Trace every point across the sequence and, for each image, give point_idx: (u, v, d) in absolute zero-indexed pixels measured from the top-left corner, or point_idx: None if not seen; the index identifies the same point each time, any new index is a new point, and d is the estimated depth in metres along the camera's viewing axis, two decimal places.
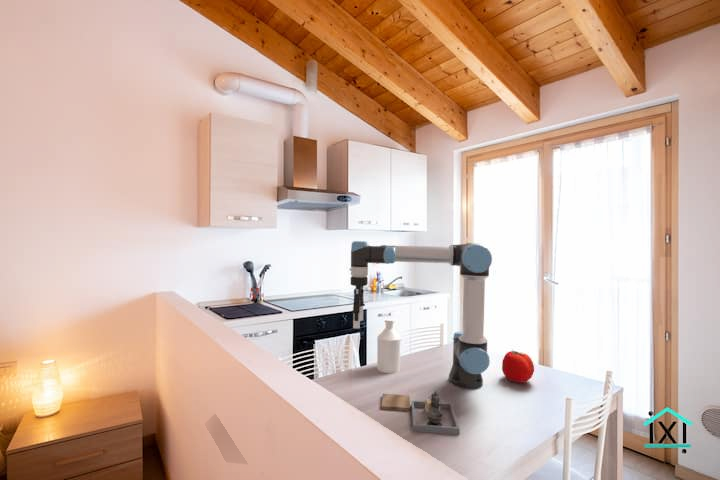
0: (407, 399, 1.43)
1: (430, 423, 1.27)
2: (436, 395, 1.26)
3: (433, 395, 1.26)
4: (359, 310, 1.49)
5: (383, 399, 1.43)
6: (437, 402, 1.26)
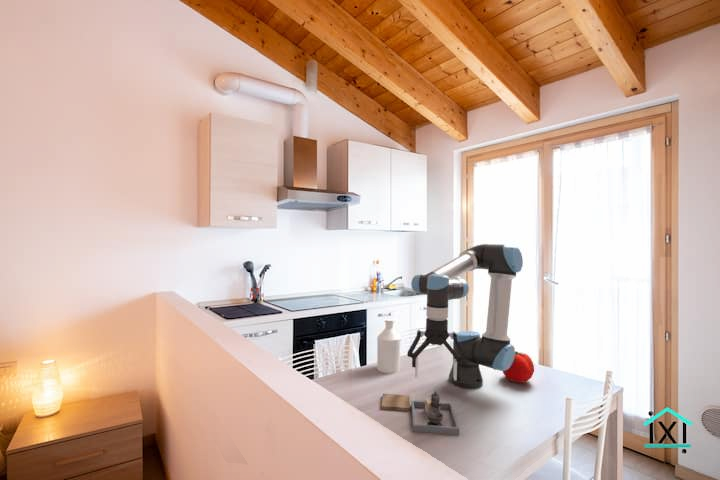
0: (407, 399, 1.43)
1: (430, 423, 1.27)
2: (436, 395, 1.26)
3: (433, 395, 1.26)
4: (415, 356, 1.26)
5: (383, 399, 1.43)
6: (437, 402, 1.26)
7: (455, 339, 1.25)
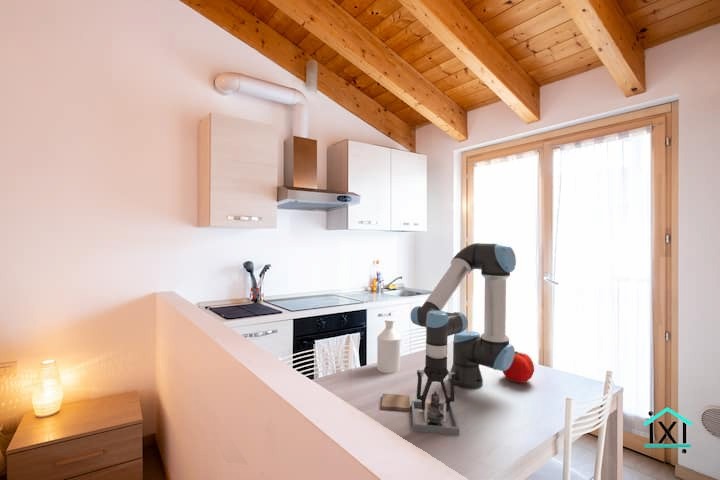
0: (407, 399, 1.43)
1: (430, 423, 1.27)
2: (436, 395, 1.26)
3: (433, 395, 1.26)
4: (424, 398, 1.26)
5: (383, 399, 1.43)
6: (437, 402, 1.26)
7: (452, 380, 1.25)
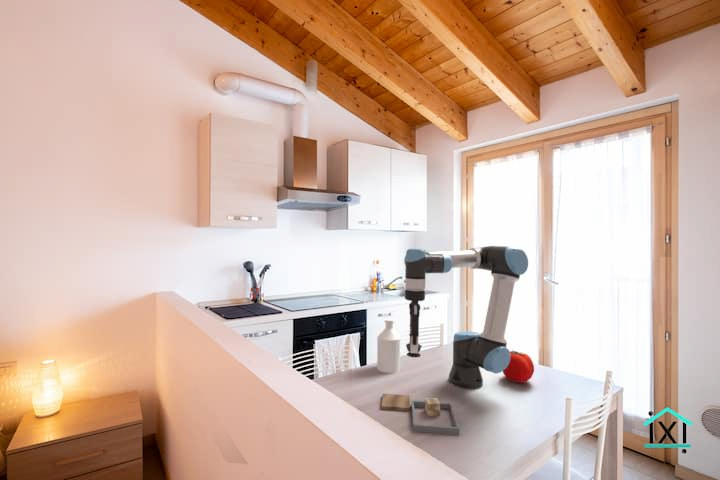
0: (407, 399, 1.43)
1: (414, 355, 1.33)
2: None
3: None
4: None
5: (383, 399, 1.43)
6: None
7: None
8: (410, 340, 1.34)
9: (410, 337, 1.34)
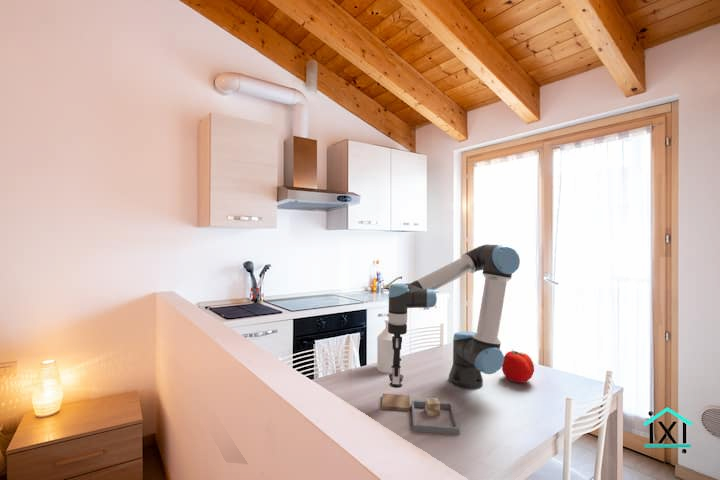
0: (407, 399, 1.43)
1: (396, 385, 1.41)
2: None
3: None
4: None
5: (383, 399, 1.43)
6: None
7: None
8: (392, 371, 1.42)
9: None
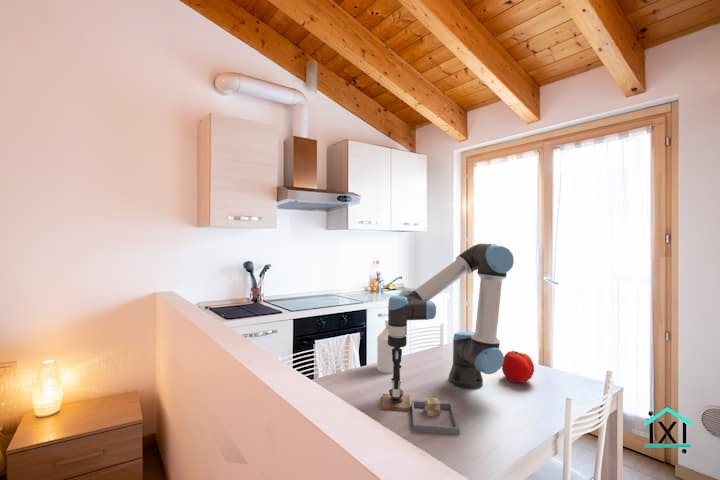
0: (407, 399, 1.43)
1: (397, 401, 1.41)
2: None
3: None
4: None
5: (383, 399, 1.43)
6: None
7: None
8: None
9: None
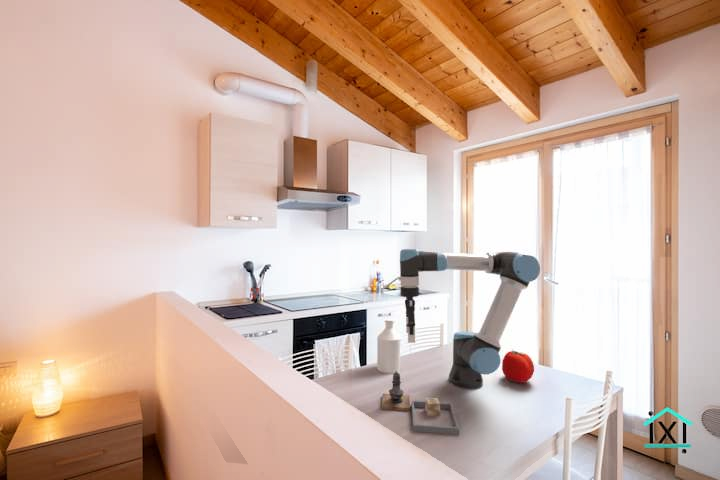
0: (407, 399, 1.43)
1: (397, 401, 1.41)
2: (398, 373, 1.42)
3: (398, 374, 1.41)
4: None
5: (383, 399, 1.43)
6: None
7: None
8: (393, 386, 1.42)
9: None
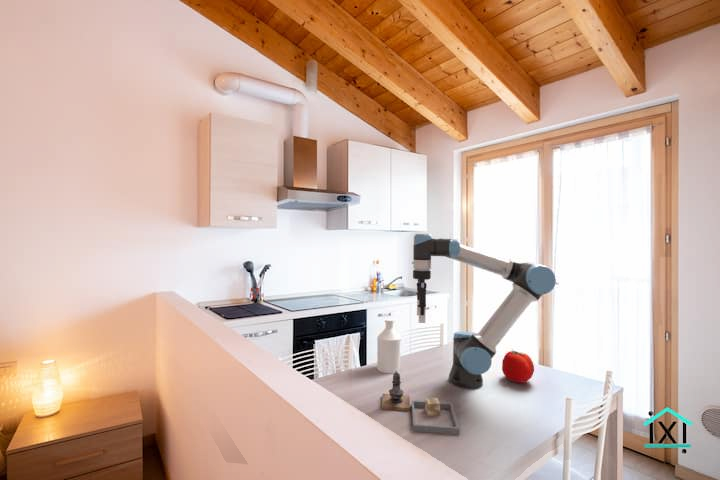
0: (407, 399, 1.43)
1: (397, 401, 1.41)
2: (398, 373, 1.42)
3: (398, 374, 1.41)
4: None
5: (383, 399, 1.43)
6: None
7: None
8: (393, 386, 1.42)
9: (393, 384, 1.42)
